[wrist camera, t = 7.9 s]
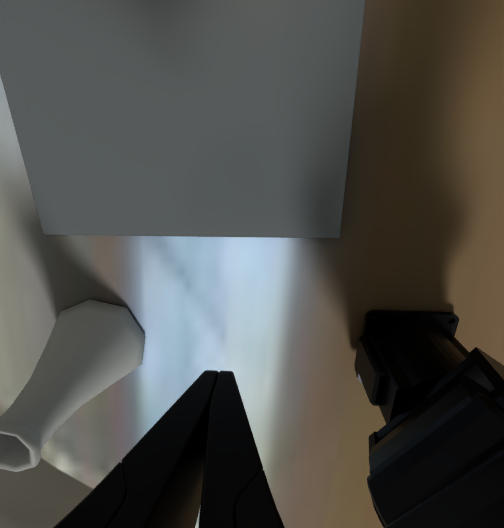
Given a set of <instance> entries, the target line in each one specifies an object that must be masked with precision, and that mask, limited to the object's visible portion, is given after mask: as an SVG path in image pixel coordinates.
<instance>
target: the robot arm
mask: <svg viewBox="0 0 504 528" xmlns="http://www.w3.org/2000/svg"><path fill="white" fill-rule="evenodd" d="M373 316H376V317H375V318H374V319H371V317H373ZM450 318H452V319H451V320H450V321H448V320H449V319H450ZM458 322H459V318H458V317H457V316H456V315H455V314H454V313H452V312H425V311H384V310H372V311H369V312H368V313H367V314H366V317H365V324H364V330H363V336H361V337H360V338H359V340H358V347H357V353H356V360H355V365H356V368H357V378H358V380H359V382H361V383H363V386H364V388H365V391H366V393H367V396H368V398H369V401H370V403H371V404H372V405H374V406H379V408H380V410H381V412H382V415H383V417H384V420H385V422H386V425H385V426H384V427H383V428H381V429H380V430H379V431H378V432H374V433H372V434H371V435H370V436H369V465H370V475H369V476H368V477H367V484H368V488H369V491H370V494H371V498H372V501H373V505H374V509H375V511H376V513H377V515H378V518H379V520H380V522H381V523H382V525H383V527H384V528H504V366H503V365H502V364H501V363H499V362H498V361H496V360H495V359H493V358H492V357H490V356H489V355H487V354H486V353H484V352H483V351H482V350H480V349H479V348H477V347H476V348H474V349H473V350H472V351H471V352H470V353H469V352H468V351H467V350H466V349H465V348H464V347H463V345H462V344H461V343H460V342H459V341H458V340H457V339H456V338H455V337H454V336H455V332H456V329H457V325H458ZM200 505H201V507H200ZM199 509H200V518H199V528H285V527H284V525H283V522H282V520H281V518H280V515H279V513H278V510H277V508H276V505H275V502H274V499H273V497H272V494H271V491H270V488H269V485H268V482H267V479H266V476H265V472H264V470H263V466H262V463H261V460H260V457H259V454H258V450H257V447H256V444H255V441H254V438H253V434H252V431H251V428H250V425H249V421H248V418H247V415H246V412H245V409H244V405H243V402H242V399H241V396H240V393H239V389H238V386H237V383H236V380H235V377H234V373H233V372H232V371H220V372H218V371H213V370H206V371H204V372H203V373H202V374H201V375H200V376H199V378H198V379H197V380H196V381H195V382H194V383H193V384H192V385H191V386H190V387H189V388H188V389H187V390H186V391H185V393H184V394H183V395H182V396H181V397H180V398H179V399H178V400H177V401H176V402H175V403H174V404H173V405H172V407H171V408H170V409H169V410H168V411H167V412H166V413H165V414H164V415H163V416H162V417H161V418H160V419H159V420H158V422H157V423H156V424H155V425H154V426H153V427H152V428H151V429H150V430H149V431H148V432H147V433H146V434H145V435H144V437H143V438H142V439H141V440H140V441H139V442H138V443H137V444H136V445H135V446H134V447H133V448H132V449H131V450H130V452H129V453H128V454H127V455H126V456H125V457H124V458H123V459H122V463H121V462H119V463H118V464H117V465H116V466H115V467H114V469H113V470H112V471H111V472H110V473H109V474H108V475H107V476H106V477H105V478H104V479H103V480H102V481H101V482H100V483H99V484H98V485H97V486H96V487H95V488H94V489H93V490H92V491H91V493H90V494H89V495H88V496H86V497H85V498H84V500H82V501H81V502H80V503H79V504H78V505H77V506H76V507H75V508H74V509H73V510H72V511H71V512H70V513H69V514H67V516H66V517H64V518H63V519H62V520H61V521H60V522H59V523H58V524H57V525H56V526H55V527H54V528H195V525H196V521H197V517H198V513H199Z"/></svg>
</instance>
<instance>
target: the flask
mask: <svg viewBox="0 0 504 528" xmlns="http://www.w3.org/2000/svg"><path fill="white" fill-rule="evenodd" d="M144 344H145V335H144V334H143V332H142V331H141V329H140V328H139V326H138V324H137V323H136V321H135V320H134V318H133V317H132V315H131V314H130V312H129V311H128V309H127V308H125V307H121V306H117V305H112V304H108V303H104V302H99V301H95V300H91V299H90V300H87V301H85V302H82V303H80V304H78V305H75V306H73V307H70V308H68V309H65V310H63V311H61V312H60V314H59V316H58V318H57V321H56V323H55V325H54V328H53V330H52V333H51V335H50V337H49V340H48V342H47V344H46V347H45V349H44V351H43V353H42V355H41V357H40V359H39V361H38V364H37V366H36V368H35V370H34V372H33V374H32V376H31V378H30V380H29V381H28V383H27V384H26V386H25V387H24V389H23V390H22V391H21V393H20V394H19V396H18V397H17V398H16V400H15V401H14V403H13V404H12V405H11V406H10V408H9V409H8V410H7V411H6V412H5V413H4V414H3V415H2V416H1V417H0V468H1V469H6V470H11V471H16V472H18V471H21V470H25V469H28V468H32V467H35V466H36V465H37V464H38V463H39V460H40V458H41V449H42V447H43V446H44V445H45V443H46V442H47V441H48V439H49V438H50V437H51V436H52V434H53V433H54V432H55V430H56V429H57V428H58V427H59V426H60V425H62V424H63V423H64V422H65V421H66V420H67V419H68V418H69V417H70V416H71V415H72V414H73V413H74V412H75V411H76V410H77V409H78V408H79V407H81V406H82V405H84V404H85V403H86V402H88V401H89V400H91V399H92V398H93V397H95V396H96V395H98V394H99V393H100V392H102V391H103V390H105V389H106V388H107V387H109V386H110V385H112V384H113V383H115V382H116V381H118V380H119V379H121V378H122V377H124V376H125V375H127V374H128V373H130V372H132V371H133V370H135V369H136V368H137V367H139V366H140V365H142V362H143V353H144Z"/></svg>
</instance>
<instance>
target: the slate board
mask: <svg viewBox="0 0 504 528" xmlns="http://www.w3.org/2000/svg"><path fill="white" fill-rule="evenodd" d="M364 9H365V0H0V75H1V79H2V82H3V86H4V90H5V93H6V97H7V101H8V104H9V108H10V112H11V116H12V119H13V123H14V127H15V130H16V134H17V138H18V141H19V145H20V149H21V153H22V156H23V160H24V164H25V167H26V171H27V175H28V178H29V182H30V186H31V190H32V193H33V197H34V201H35V204H36V208H37V212H38V215H39V219H40V223H41V227H42V230H43V234H44V235H115V236H198V237H281V238H340V229H341V220H342V211H343V202H344V193H345V183H346V174H347V165H348V156H349V147H350V137H351V128H352V119H353V110H354V101H355V92H356V82H357V73H358V64H359V55H360V46H361V36H362V27H363V18H364Z"/></svg>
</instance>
